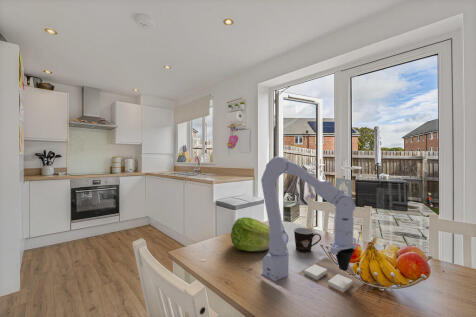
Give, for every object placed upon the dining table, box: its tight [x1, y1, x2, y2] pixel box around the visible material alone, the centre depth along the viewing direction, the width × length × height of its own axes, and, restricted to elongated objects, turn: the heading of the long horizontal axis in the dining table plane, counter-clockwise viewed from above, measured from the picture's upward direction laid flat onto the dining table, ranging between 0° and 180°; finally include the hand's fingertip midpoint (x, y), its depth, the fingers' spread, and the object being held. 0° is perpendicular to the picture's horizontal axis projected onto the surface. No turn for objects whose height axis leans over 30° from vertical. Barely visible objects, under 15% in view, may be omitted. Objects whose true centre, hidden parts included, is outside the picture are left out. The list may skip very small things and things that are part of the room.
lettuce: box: [230, 216, 270, 253], centre depth 104 cm, size 17×24×14 cm
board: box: [297, 257, 365, 299], centre depth 79 cm, size 20×18×1 cm
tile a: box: [303, 263, 327, 280], centre depth 79 cm, size 2×5×7 cm
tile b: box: [328, 274, 353, 293], centre depth 72 cm, size 2×5×7 cm
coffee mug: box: [293, 227, 322, 254], centre depth 99 cm, size 12×9×10 cm
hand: (343, 269), depth 73 cm, fingers closed
